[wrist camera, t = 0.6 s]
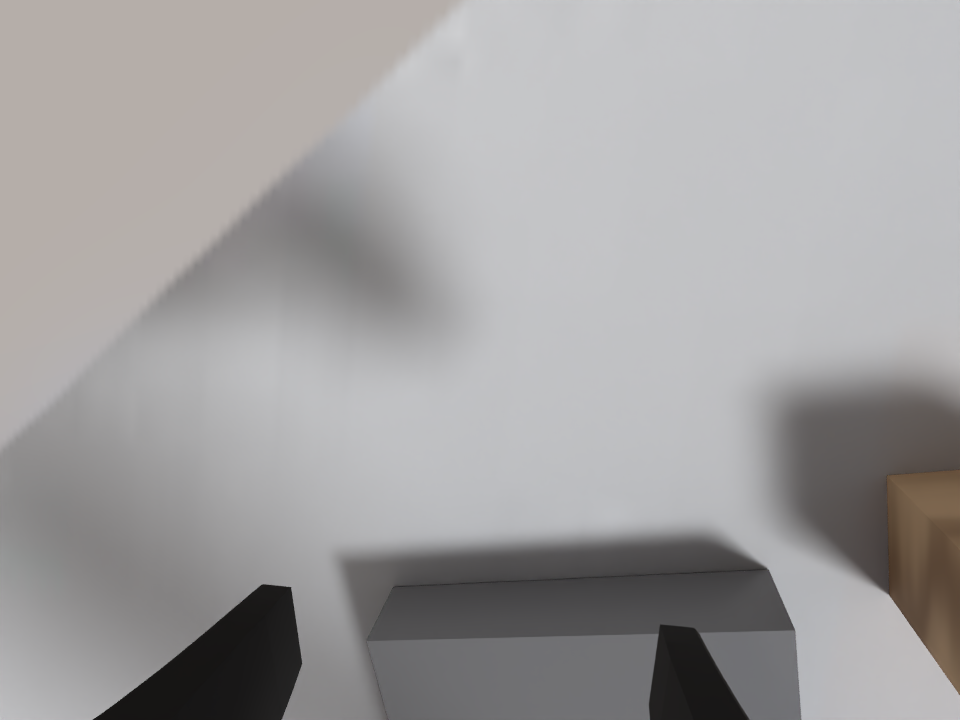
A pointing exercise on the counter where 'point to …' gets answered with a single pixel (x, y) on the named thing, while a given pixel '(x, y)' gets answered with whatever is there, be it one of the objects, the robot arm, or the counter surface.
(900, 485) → the oak block
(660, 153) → the counter surface
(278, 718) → the robot arm
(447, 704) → the slate base
